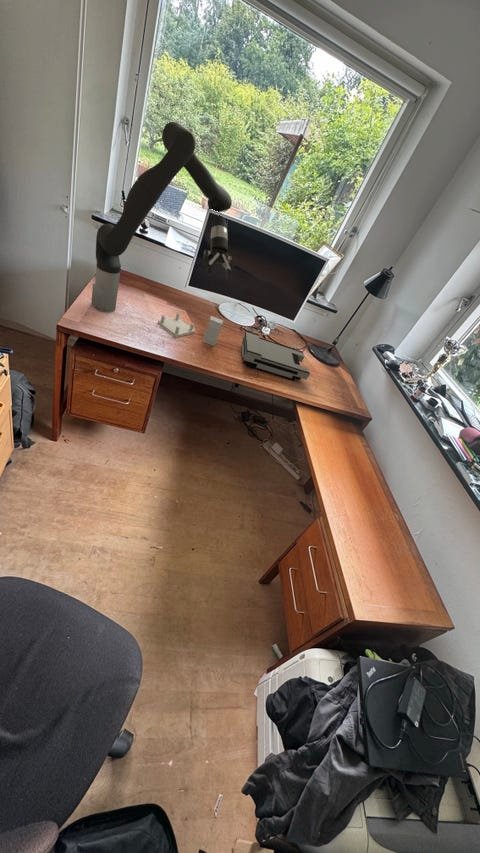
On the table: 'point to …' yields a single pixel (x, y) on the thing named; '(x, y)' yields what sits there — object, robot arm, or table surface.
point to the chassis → (176, 326)
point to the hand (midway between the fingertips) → (218, 277)
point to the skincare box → (212, 331)
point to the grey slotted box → (272, 357)
